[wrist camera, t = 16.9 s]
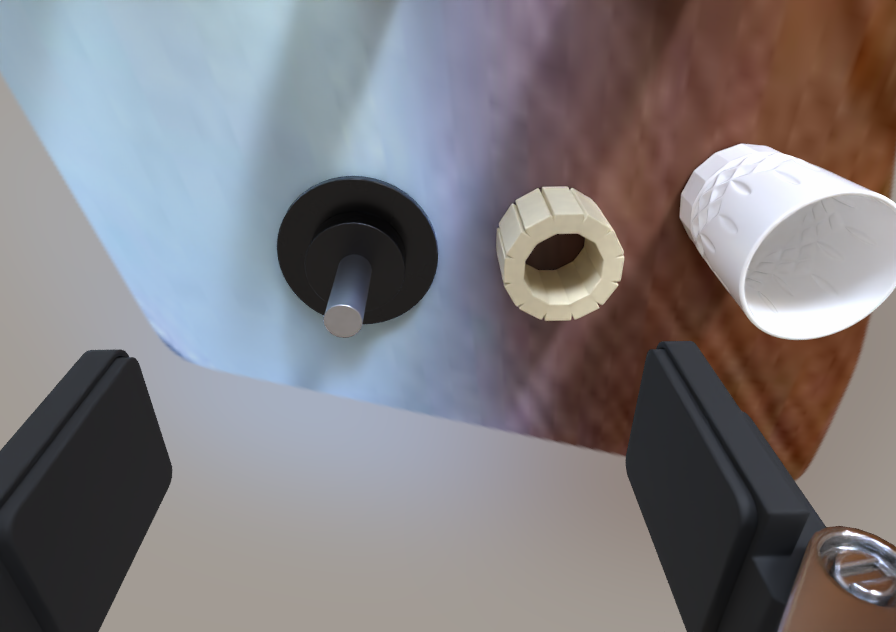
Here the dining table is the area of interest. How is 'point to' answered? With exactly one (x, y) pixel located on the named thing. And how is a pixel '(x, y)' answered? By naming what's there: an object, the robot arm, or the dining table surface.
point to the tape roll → (572, 283)
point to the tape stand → (357, 252)
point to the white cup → (791, 240)
